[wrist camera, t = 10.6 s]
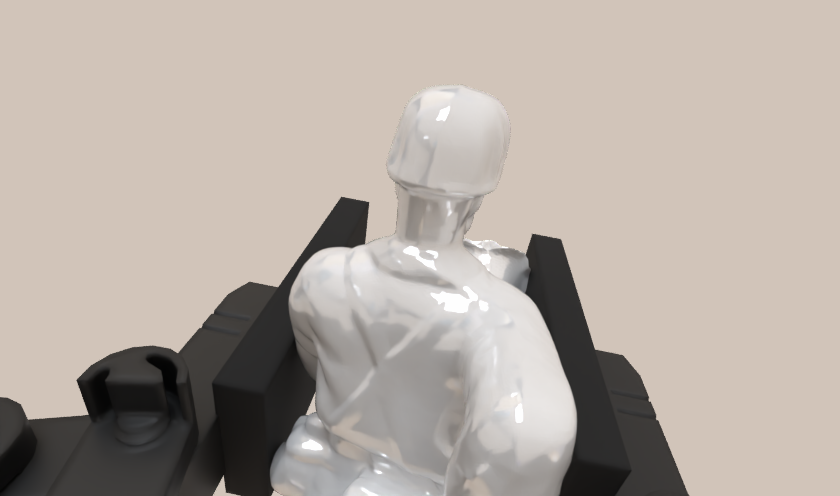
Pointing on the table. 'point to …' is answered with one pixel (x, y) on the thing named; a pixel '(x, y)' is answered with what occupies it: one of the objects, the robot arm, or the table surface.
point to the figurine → (429, 336)
